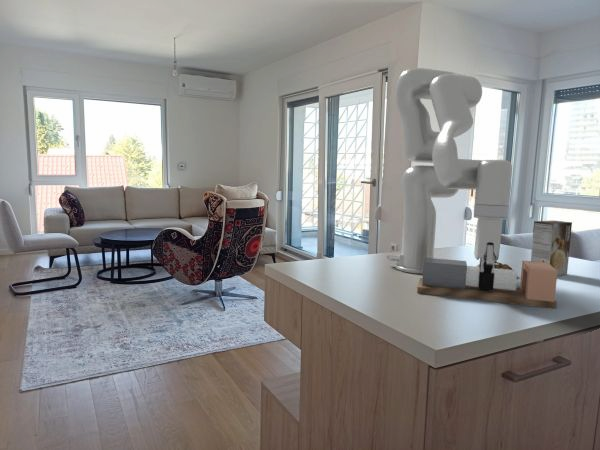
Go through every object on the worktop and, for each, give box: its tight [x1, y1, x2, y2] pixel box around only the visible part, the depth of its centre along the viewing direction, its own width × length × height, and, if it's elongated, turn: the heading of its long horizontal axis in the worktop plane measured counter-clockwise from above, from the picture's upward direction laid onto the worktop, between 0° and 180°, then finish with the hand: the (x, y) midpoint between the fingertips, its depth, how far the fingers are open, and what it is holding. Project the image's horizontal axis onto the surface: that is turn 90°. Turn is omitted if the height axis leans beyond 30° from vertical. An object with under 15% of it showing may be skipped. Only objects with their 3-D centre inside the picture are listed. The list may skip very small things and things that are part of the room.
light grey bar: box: [466, 265, 518, 290], centre depth 104 cm, size 18×4×4 cm, turn 71°
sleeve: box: [422, 257, 468, 290], centre depth 106 cm, size 10×6×6 cm, turn 71°
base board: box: [416, 277, 558, 310], centre depth 104 cm, size 30×10×2 cm, turn 71°
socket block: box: [519, 259, 558, 302], centre depth 99 cm, size 6×10×7 cm, turn 161°
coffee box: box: [530, 220, 573, 277], centre depth 128 cm, size 9×6×16 cm
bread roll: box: [475, 260, 514, 270], centre depth 126 cm, size 11×11×5 cm
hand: (484, 285), depth 103 cm, fingers closed on light grey bar, 4 cm apart
